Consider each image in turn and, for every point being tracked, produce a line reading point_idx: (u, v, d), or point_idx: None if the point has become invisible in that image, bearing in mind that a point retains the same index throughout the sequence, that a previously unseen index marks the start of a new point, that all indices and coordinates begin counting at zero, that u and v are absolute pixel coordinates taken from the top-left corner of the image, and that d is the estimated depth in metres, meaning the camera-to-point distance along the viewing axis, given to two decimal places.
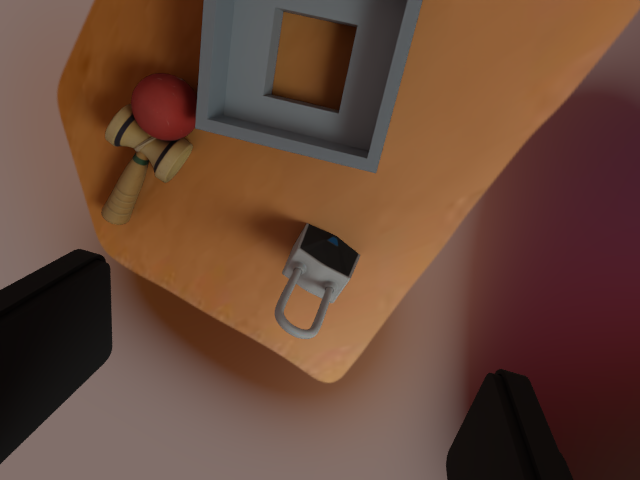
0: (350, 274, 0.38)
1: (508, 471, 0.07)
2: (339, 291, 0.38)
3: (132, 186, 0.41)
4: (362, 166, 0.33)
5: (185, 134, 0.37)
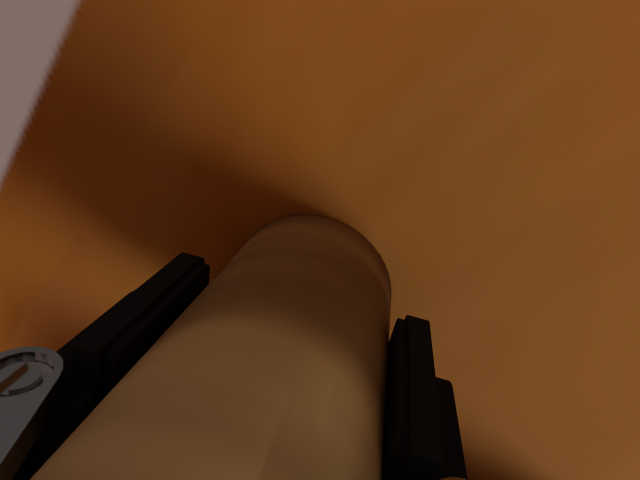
0: None
1: (392, 389, 0.08)
2: None
3: None
4: None
5: None
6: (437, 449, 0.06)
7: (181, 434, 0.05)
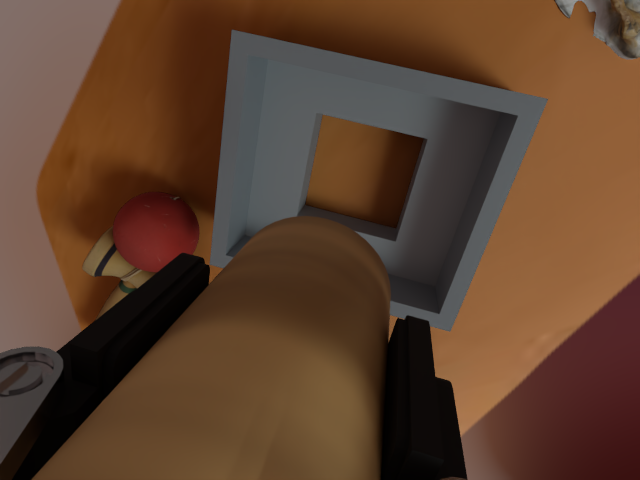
0: None
1: (392, 389, 0.08)
2: None
3: None
4: (432, 322, 0.25)
5: None
6: (437, 450, 0.06)
7: (180, 439, 0.05)
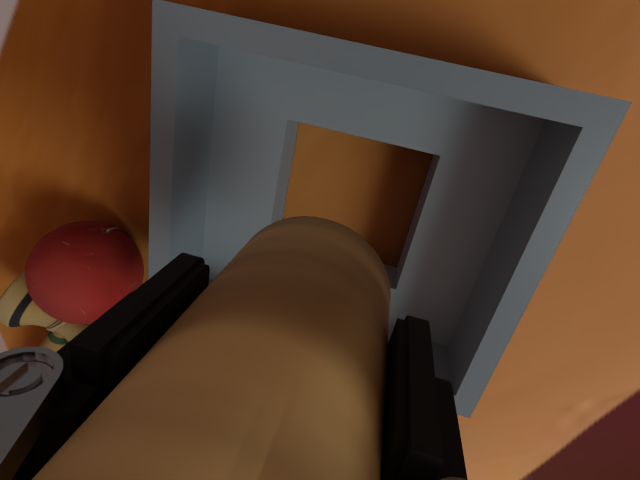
0: None
1: (392, 389, 0.08)
2: None
3: None
4: None
5: None
6: (437, 449, 0.06)
7: (180, 440, 0.05)
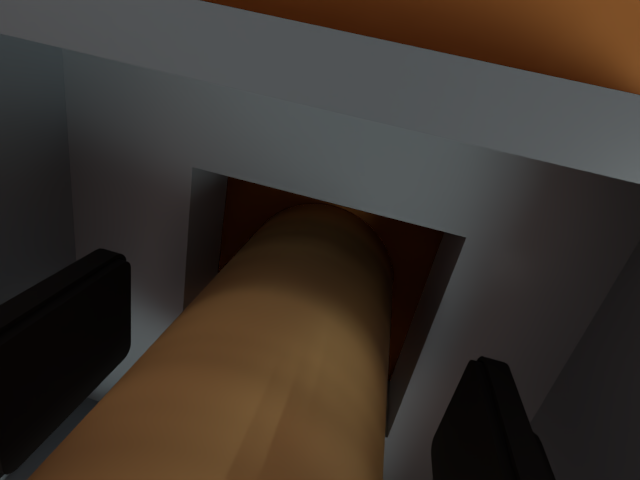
0: None
1: (484, 450, 0.07)
2: None
3: None
4: None
5: None
6: None
7: (218, 373, 0.05)
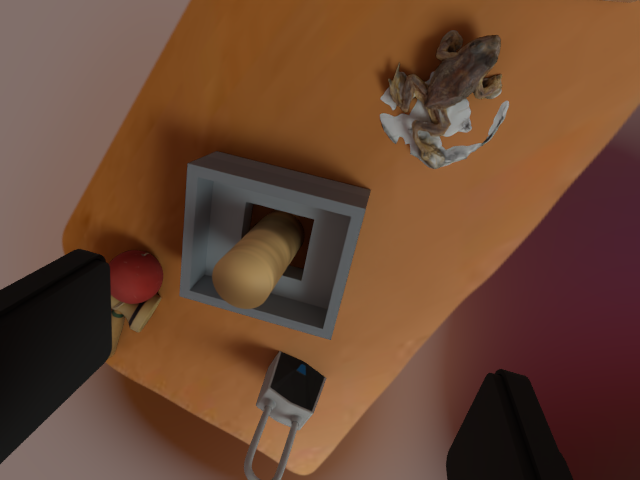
0: (314, 407, 0.44)
1: (508, 471, 0.07)
2: (304, 422, 0.44)
3: (113, 333, 0.49)
4: (319, 334, 0.39)
5: (151, 297, 0.45)
6: None
7: (253, 239, 0.34)
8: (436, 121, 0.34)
